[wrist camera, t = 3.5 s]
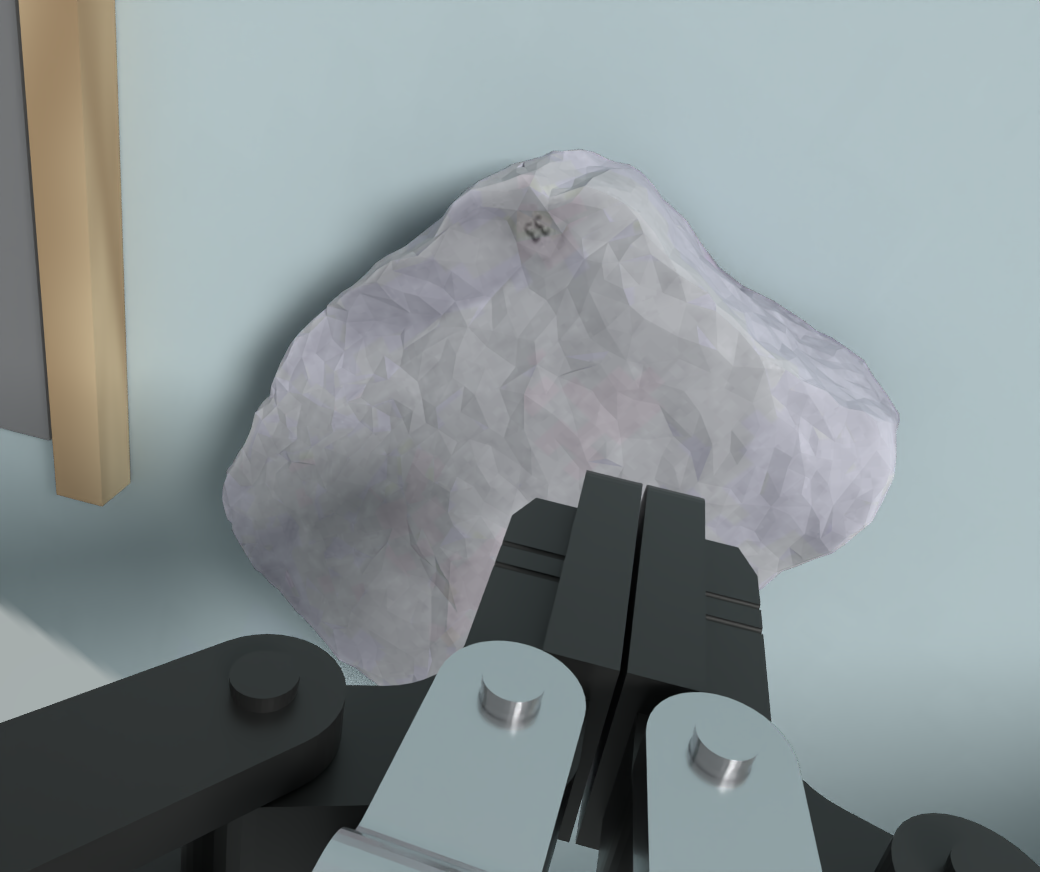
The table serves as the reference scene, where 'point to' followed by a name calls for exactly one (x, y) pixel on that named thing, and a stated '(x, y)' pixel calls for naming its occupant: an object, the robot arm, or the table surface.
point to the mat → (19, 251)
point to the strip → (79, 238)
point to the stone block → (540, 409)
